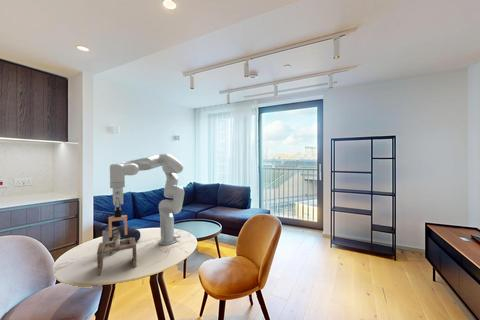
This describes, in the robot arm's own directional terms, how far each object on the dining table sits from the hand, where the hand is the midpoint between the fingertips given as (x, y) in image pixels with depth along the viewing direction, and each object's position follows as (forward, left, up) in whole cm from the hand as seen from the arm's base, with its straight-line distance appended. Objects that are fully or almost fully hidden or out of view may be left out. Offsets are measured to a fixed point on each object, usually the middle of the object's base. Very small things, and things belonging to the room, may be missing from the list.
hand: (118, 216), depth 129 cm
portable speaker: (-5, -42, -30) cm, 51 cm away
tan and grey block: (0, 0, -11) cm, 11 cm away
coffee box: (+5, -23, -30) cm, 38 cm away
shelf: (+1, 0, -29) cm, 29 cm away
